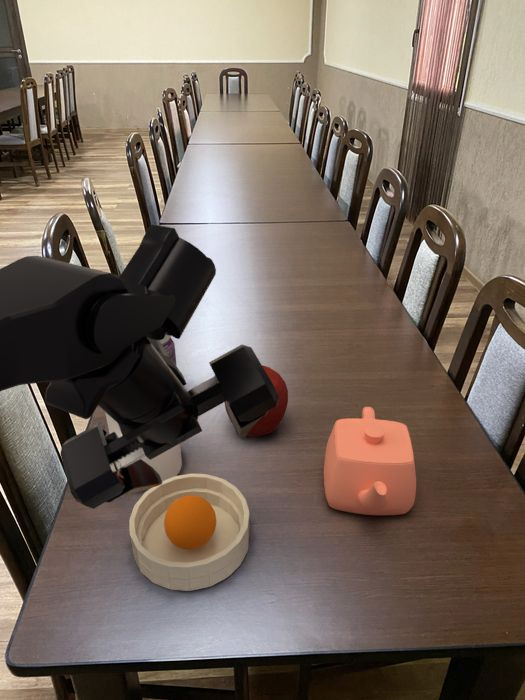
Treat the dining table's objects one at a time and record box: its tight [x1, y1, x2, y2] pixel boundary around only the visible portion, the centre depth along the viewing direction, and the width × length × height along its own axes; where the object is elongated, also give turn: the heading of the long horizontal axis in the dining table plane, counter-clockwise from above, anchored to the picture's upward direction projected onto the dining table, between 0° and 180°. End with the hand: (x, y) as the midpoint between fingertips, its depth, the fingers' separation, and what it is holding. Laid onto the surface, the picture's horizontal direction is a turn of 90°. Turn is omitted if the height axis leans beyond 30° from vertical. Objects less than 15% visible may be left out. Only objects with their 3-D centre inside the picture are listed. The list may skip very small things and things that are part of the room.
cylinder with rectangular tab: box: [104, 411, 183, 490], centre depth 72 cm, size 9×9×12 cm
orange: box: [164, 495, 216, 549], centre depth 62 cm, size 6×6×6 cm
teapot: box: [323, 406, 417, 516], centre depth 68 cm, size 12×18×10 cm, turn 175°
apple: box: [223, 364, 289, 437], centre depth 80 cm, size 10×10×10 cm
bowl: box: [128, 472, 251, 592], centre depth 63 cm, size 14×14×4 cm
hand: (200, 457), depth 53 cm, fingers open, 9 cm apart
